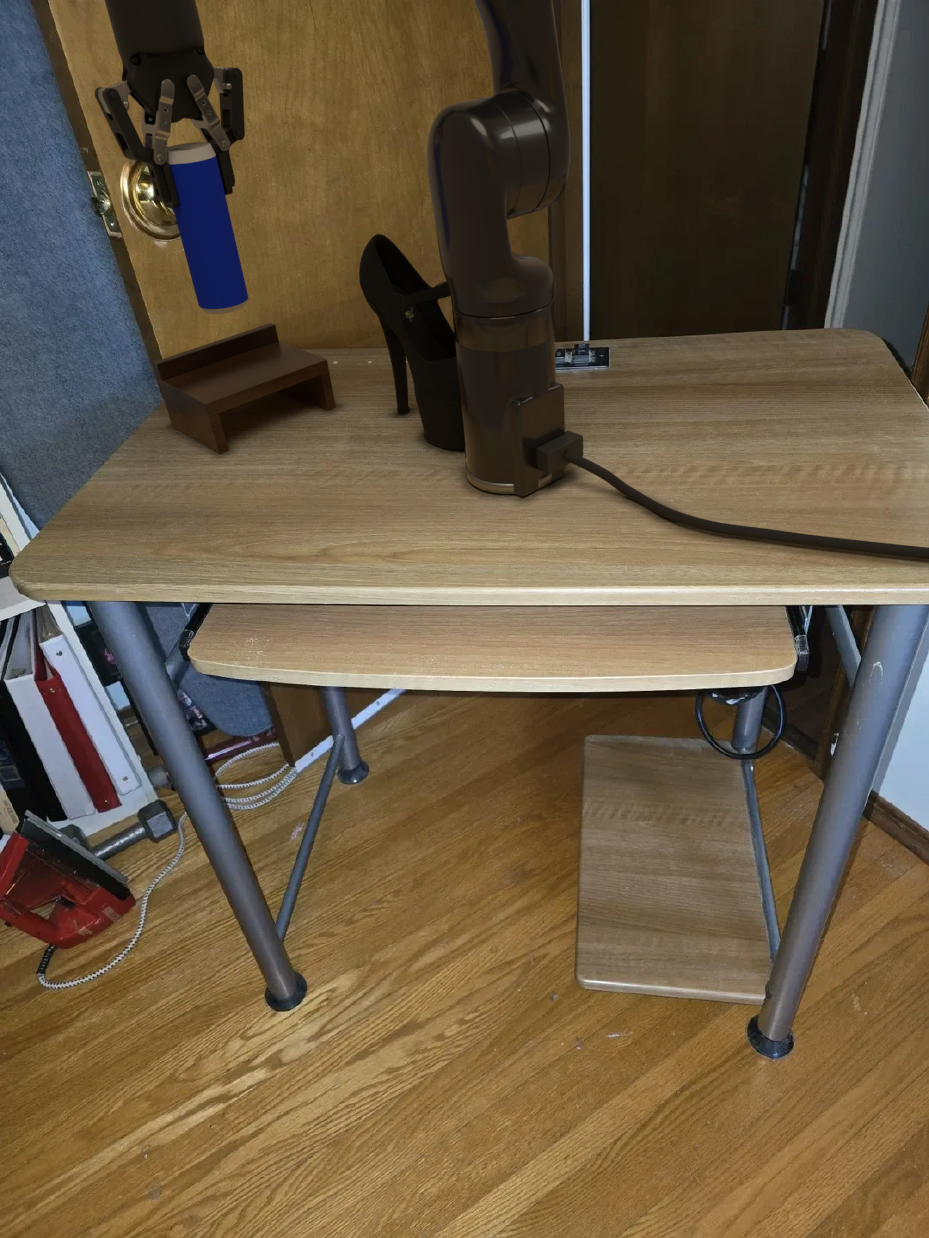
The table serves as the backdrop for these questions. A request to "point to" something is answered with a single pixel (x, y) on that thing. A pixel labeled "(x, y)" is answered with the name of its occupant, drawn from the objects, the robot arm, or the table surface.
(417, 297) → the high-heeled shoe
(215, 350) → the shelf
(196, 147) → the beverage can
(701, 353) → the table surface
